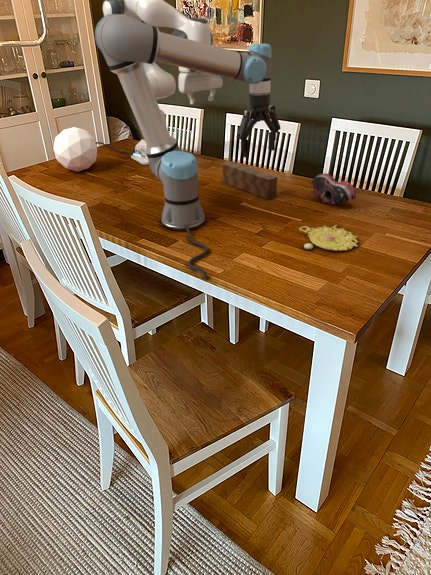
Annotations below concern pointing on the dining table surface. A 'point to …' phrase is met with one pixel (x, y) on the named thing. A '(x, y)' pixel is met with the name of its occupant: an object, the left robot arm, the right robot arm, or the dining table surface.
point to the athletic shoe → (332, 189)
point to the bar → (250, 180)
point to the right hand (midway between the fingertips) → (258, 153)
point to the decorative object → (330, 238)
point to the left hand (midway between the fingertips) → (202, 102)
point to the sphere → (75, 149)
